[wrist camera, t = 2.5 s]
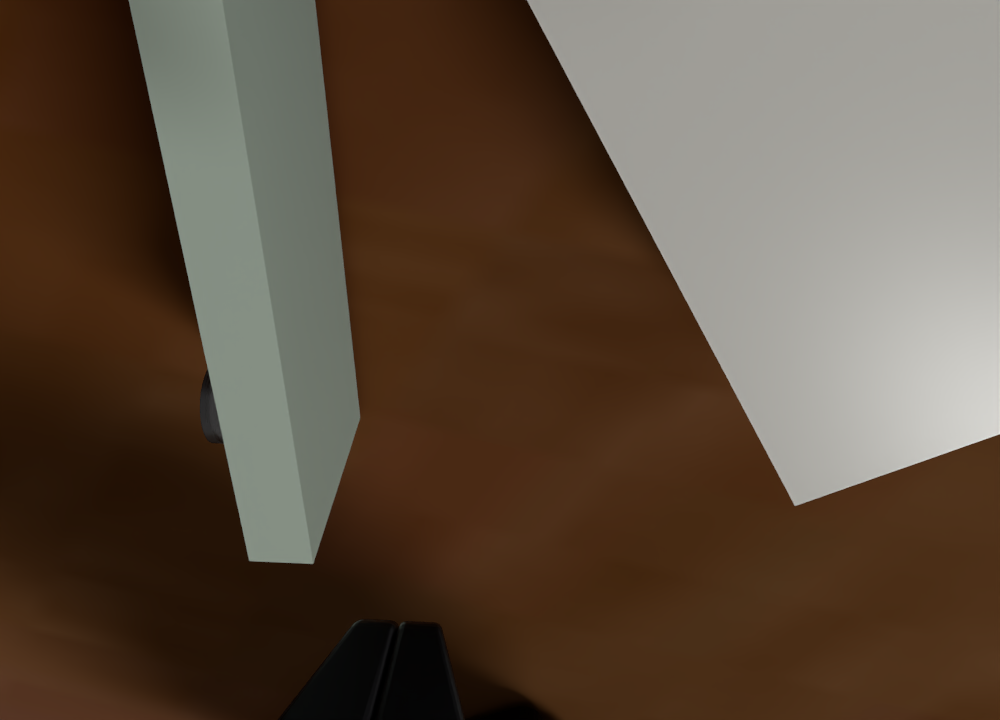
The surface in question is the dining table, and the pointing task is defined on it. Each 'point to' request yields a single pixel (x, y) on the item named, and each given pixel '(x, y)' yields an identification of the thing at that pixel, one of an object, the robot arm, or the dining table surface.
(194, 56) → the door
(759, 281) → the case
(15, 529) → the dining table surface
